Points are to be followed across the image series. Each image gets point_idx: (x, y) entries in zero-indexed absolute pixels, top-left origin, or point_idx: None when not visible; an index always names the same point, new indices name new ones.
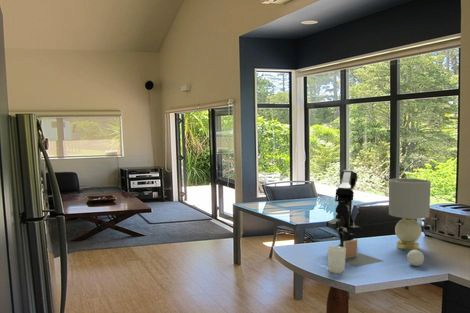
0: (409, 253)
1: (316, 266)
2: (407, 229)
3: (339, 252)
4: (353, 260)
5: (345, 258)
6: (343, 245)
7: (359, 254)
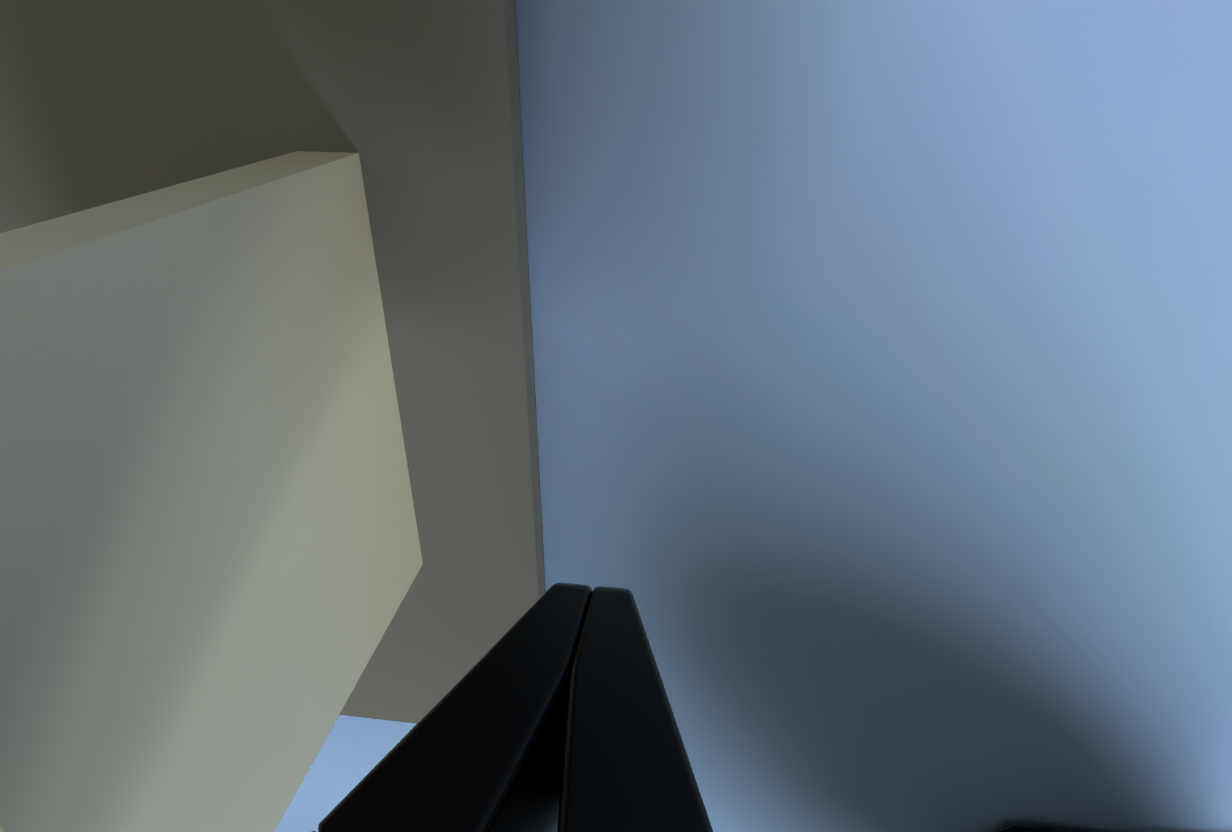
0: None
1: None
2: None
3: None
4: (22, 194)
5: (257, 146)
6: (26, 261)
7: (450, 669)
